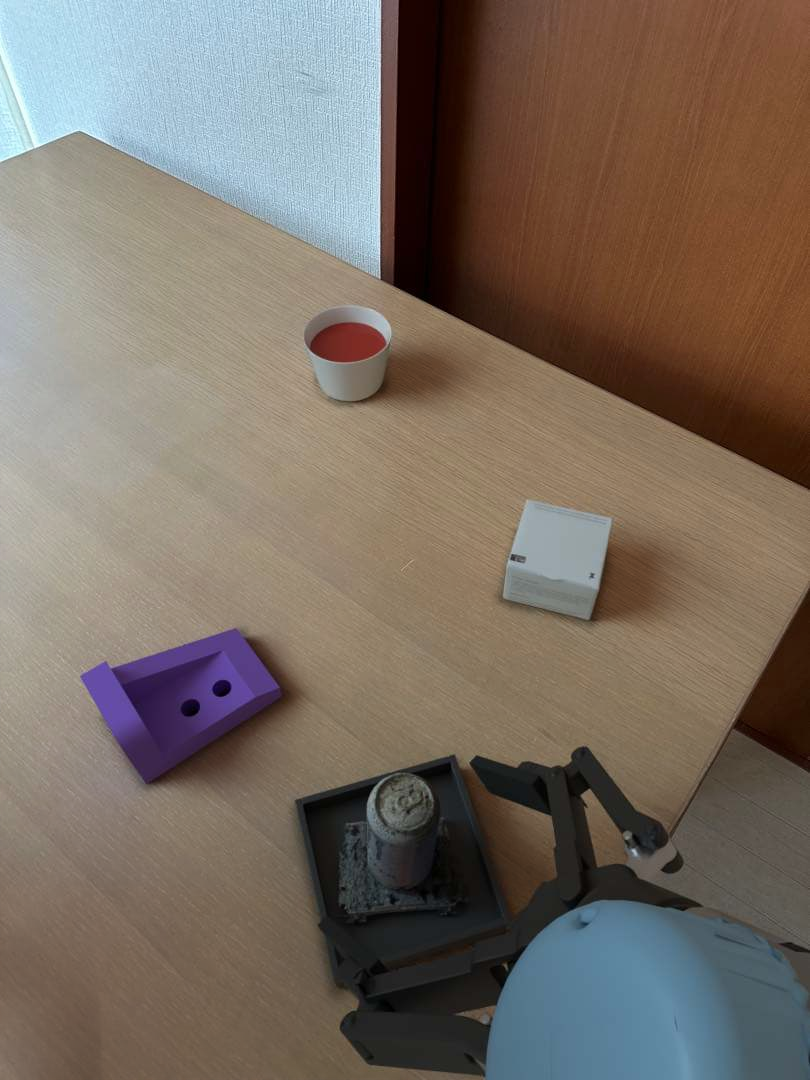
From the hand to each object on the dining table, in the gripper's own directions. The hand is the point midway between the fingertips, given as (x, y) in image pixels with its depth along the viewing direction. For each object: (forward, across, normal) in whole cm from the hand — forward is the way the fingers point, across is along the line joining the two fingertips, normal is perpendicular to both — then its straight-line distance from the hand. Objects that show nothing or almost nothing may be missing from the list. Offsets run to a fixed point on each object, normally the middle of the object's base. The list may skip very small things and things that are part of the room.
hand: (412, 850), depth 52 cm
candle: (+34, +33, +23) cm, 52 cm away
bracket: (+21, -2, +10) cm, 23 cm away
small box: (+12, +28, +1) cm, 30 cm away
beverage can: (+6, 0, -4) cm, 7 cm away
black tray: (+6, 0, -4) cm, 7 cm away
